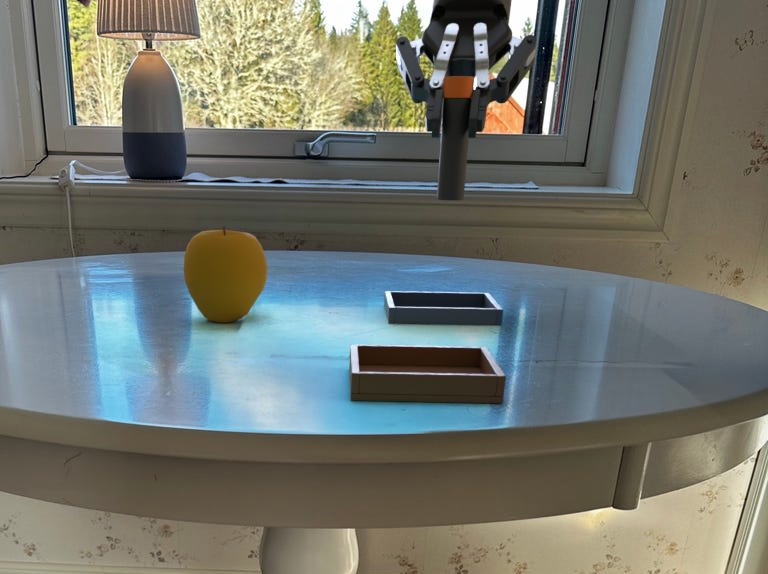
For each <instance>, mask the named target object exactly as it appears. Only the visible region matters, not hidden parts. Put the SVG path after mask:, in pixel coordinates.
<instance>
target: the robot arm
mask: <svg viewBox="0 0 768 574" xmlns="http://www.w3.org/2000/svg"><path fill="white" fill-rule="evenodd" d="M511 8H512V0H432V5H431V11H430V18H429V24H428V26H427V27H426V28H425V29H424V30H423V33H422V35H421V37H420V38H417V39H414V40H412V41H410V39H409V38H408V37H406V36H399V37H398V38H397V39H396V40H395V46H396V47H395V49H396V52H395V53H396V65H397V67H398V70H399V73H400V75H401V77H402V80H403V82H404V84H405V86H406V89H407V91H408V93H409V95H410V98H411V100H412V102H413V103H414V104H422V103H424V102H425V103H426V108H425V117H424V118H425V119H424V120H425V129H426V133H431V138H433V139H440V138H441V131H442V116H443V102H444V98H443V86H444V77H450V76H471V77H475V81H474V89H473V94H472V101H471V108H470V116H469V129H468V138H469V139H476V138H477V133H483V131H484V129H485V128H486V127H485V126H486V121H487V120H486V119H487V113H488V112H487V111H488V106H489V105H490V104H492V103H493V102H496V103H498V104H506V103H507V102H508V101H509V99H510V98H511V97H512V95H513V94H514V92H516V90H517V88H519V87H518V86H519V85H520V84H521V82H522V81H523V80H524V78H525V77H526V75H527V74H528V73H529V72H530V70H531V69H532V67H533V65H534V64H535V60H536V59H535V58H536V51H537V50H536V49H537V37H536V36H535V35H533V34H528V35H526V36H524V37H523V38H522V39H521V38H518V37H516V36H513V31H512V29H511V26H510V25H509V24H510V17H511ZM423 54H424V56H425V57H426V58H427V59H428V60H429V62H430V63H431V64H432V66H433V67H434V68H433V72H432V74H431V76H430V79H429V78H426V77H425V74H424V72H423V70H422V67H421V65H420V64H421V56H422V55H423ZM508 54H509V56H508V59H507V60H506V63H504V65H503V67H502V68H501V69H500V71H499V72H498V73H497V75H496V77H493V78H491V79H490V71H491V69H493V68H494V66H495V65H497V64H498V63H499V62H500V61H501V60H502V59H504V58H505V56H506V55H508Z"/></svg>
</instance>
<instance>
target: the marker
mask: <svg viewBox="0 0 768 574" xmlns="http://www.w3.org/2000/svg"><path fill="white" fill-rule="evenodd" d="M474 81H475V77H471V76H450V77H444V86H443V98H444V102H443V116H442V124H441V130H440V147H439V160H438V161H439V162H438V175H437V188H436V189H437V191H436V200H438V201H464V200H465V199H464V198H465V188H466V176H467V164H468V153H469V152H468V151H469V140H470V138H468V129H469V116H470V108H471V101H472V94H473V89H474Z"/></svg>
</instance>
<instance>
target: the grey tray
mask: <svg viewBox="0 0 768 574" xmlns="http://www.w3.org/2000/svg"><path fill="white" fill-rule="evenodd" d="M383 307H384V312H385V316H386V320H387V324H388V325H436V326H438V325H440V326H441V325H442V326H488V327H489V326H491V327H492V326H497V327H499V326H500V327H501V326H502V325H503V317H504V309H503V307H502V306H501V305H500V304H499V302H498V301H497V300H496V299H495V298H494V297H493V295H491V293H489V292H467V291H466V292H461V291H460V292H459V291H458V292H457V291H402V290H401V291H399V290H398V291H396V290H392V291H390V290H385V291H384V298H383Z"/></svg>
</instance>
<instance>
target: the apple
mask: <svg viewBox="0 0 768 574" xmlns="http://www.w3.org/2000/svg"><path fill="white" fill-rule="evenodd" d="M183 258H184V259H183V278H184V279H183V280H184V283H185V285H186V288H187V290H188V293H189V295H190V297H191V299H192V301H193V303H194V304H195V306H196V308H197V309H198V312H200V313H201V315H202V316H203V318H205V319H207V320H208V321H210V322H215V323H223V324H224V323H225V324H226V323H232V322H236V321H239V320H242V319H243V318H244V317H245V316H247V315H248V314H249V312H250V311H251V309H252V308H253V306H254V305H255V303H256V301H258V298H259V297H260V295H261V294H262V293H263V291H264V288H265V286H266V282H267V279H268V262H267V261H268V260H267V256H266V254H265V252H264V248H263V246H262V244H261V243H260V241H259V240H258V239H257V237H256V236H255V235H253V234H251V233H250V232H245V231H244V232H243V231H237V230H230V229H229V230H228V229H226V226H222V229H211V230H202V231H200V232H199V233H198V232H197V234H195V235H194V236H192V237H191V239H190V241H189V242H188V244H187V246H186V249H185V252H184V257H183Z"/></svg>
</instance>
